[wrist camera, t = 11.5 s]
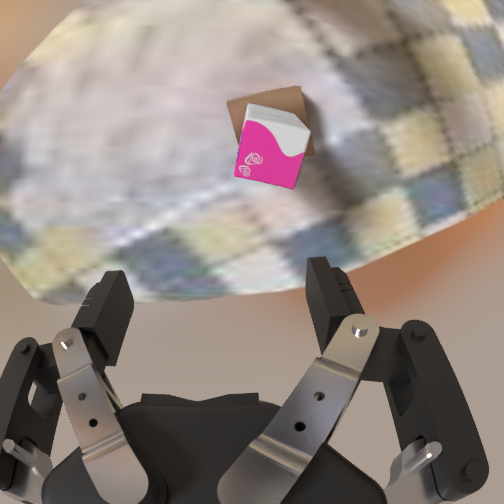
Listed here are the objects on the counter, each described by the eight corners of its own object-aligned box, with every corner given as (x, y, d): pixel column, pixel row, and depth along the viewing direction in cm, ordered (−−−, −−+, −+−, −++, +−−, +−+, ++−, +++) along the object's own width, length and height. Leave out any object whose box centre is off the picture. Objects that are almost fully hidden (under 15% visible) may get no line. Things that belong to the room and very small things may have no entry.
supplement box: (246, 101, 32) (247, 114, 23) (294, 112, 33) (316, 131, 24) (235, 146, 35) (232, 178, 26) (282, 156, 36) (297, 191, 27)
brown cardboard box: (227, 100, 36) (226, 102, 32) (294, 85, 35) (300, 86, 31) (244, 162, 40) (245, 170, 37) (307, 147, 40) (314, 154, 36)
